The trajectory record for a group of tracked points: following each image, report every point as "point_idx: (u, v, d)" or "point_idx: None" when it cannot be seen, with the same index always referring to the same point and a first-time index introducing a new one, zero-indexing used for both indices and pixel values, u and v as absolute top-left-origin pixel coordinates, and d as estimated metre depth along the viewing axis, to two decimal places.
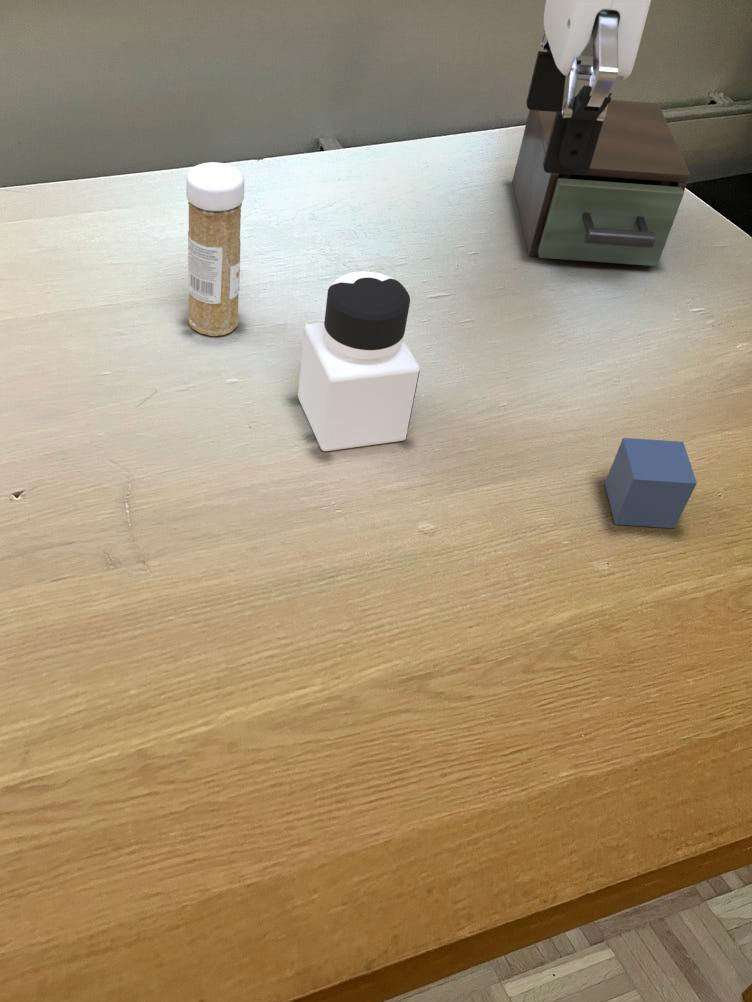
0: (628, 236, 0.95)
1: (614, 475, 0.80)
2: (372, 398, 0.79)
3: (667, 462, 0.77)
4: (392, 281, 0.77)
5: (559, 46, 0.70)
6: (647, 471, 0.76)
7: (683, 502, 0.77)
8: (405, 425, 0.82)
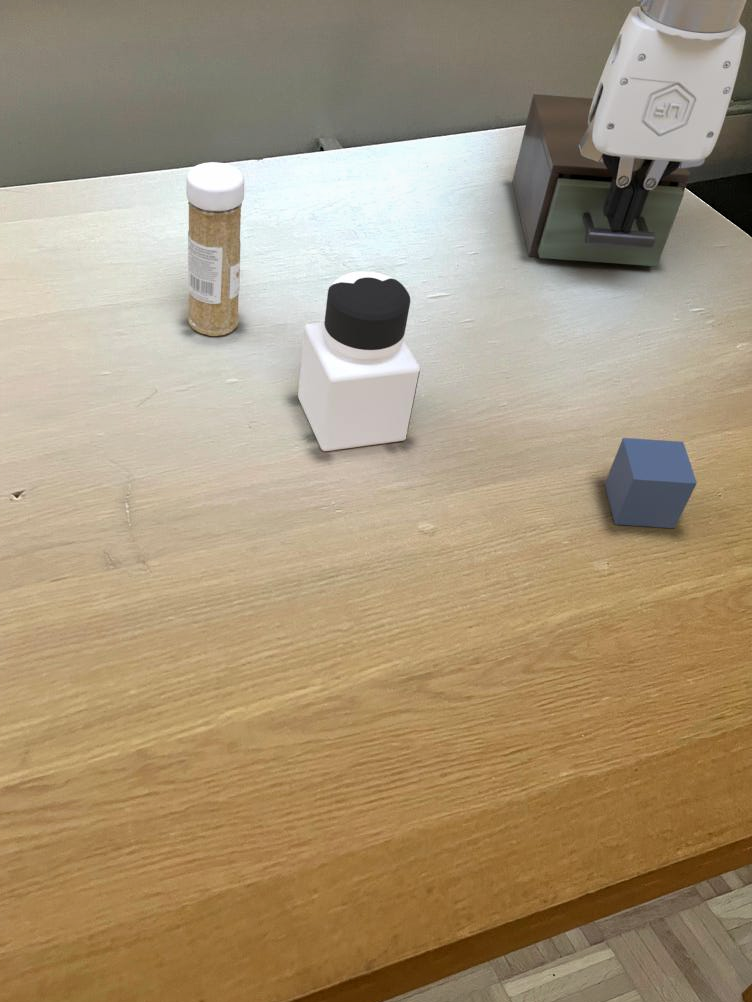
0: (628, 236, 0.95)
1: (614, 475, 0.80)
2: (372, 398, 0.79)
3: (667, 462, 0.77)
4: (393, 281, 0.77)
5: None
6: (647, 471, 0.76)
7: (683, 502, 0.77)
8: (405, 425, 0.82)
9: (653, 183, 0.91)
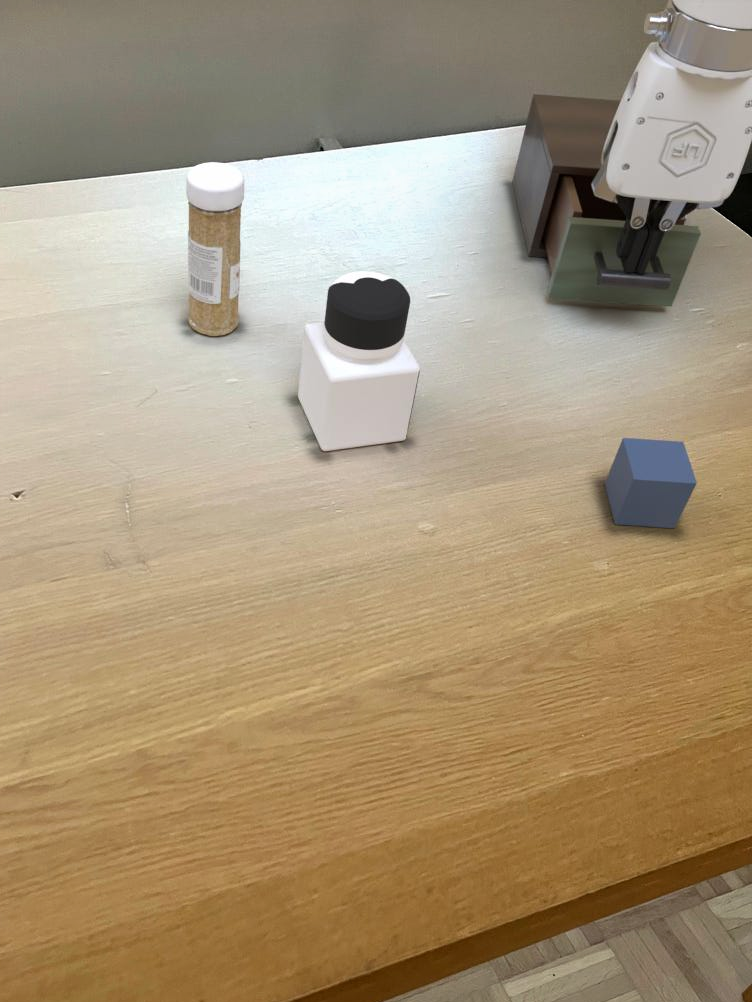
0: (642, 278, 0.90)
1: (614, 475, 0.80)
2: (372, 398, 0.79)
3: (667, 462, 0.77)
4: (392, 281, 0.77)
5: None
6: (647, 471, 0.76)
7: (683, 502, 0.77)
8: (405, 425, 0.82)
9: (669, 224, 0.87)
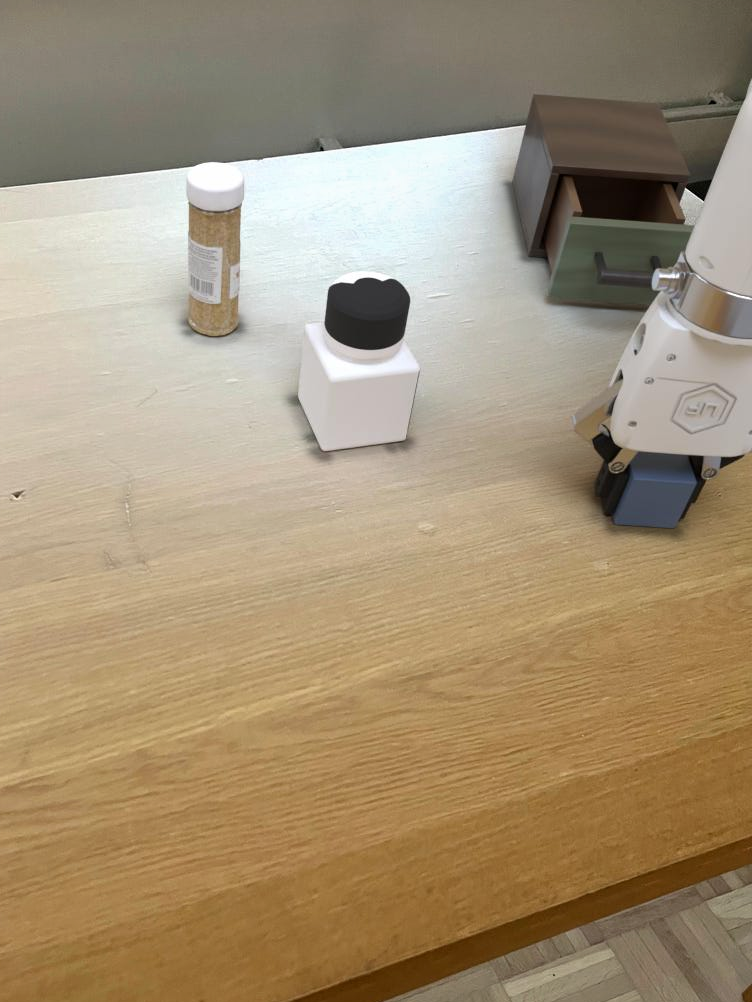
0: (642, 278, 0.90)
1: None
2: (372, 398, 0.79)
3: (667, 462, 0.77)
4: (393, 281, 0.77)
5: None
6: (647, 471, 0.76)
7: (683, 502, 0.77)
8: (405, 425, 0.82)
9: (713, 473, 0.76)
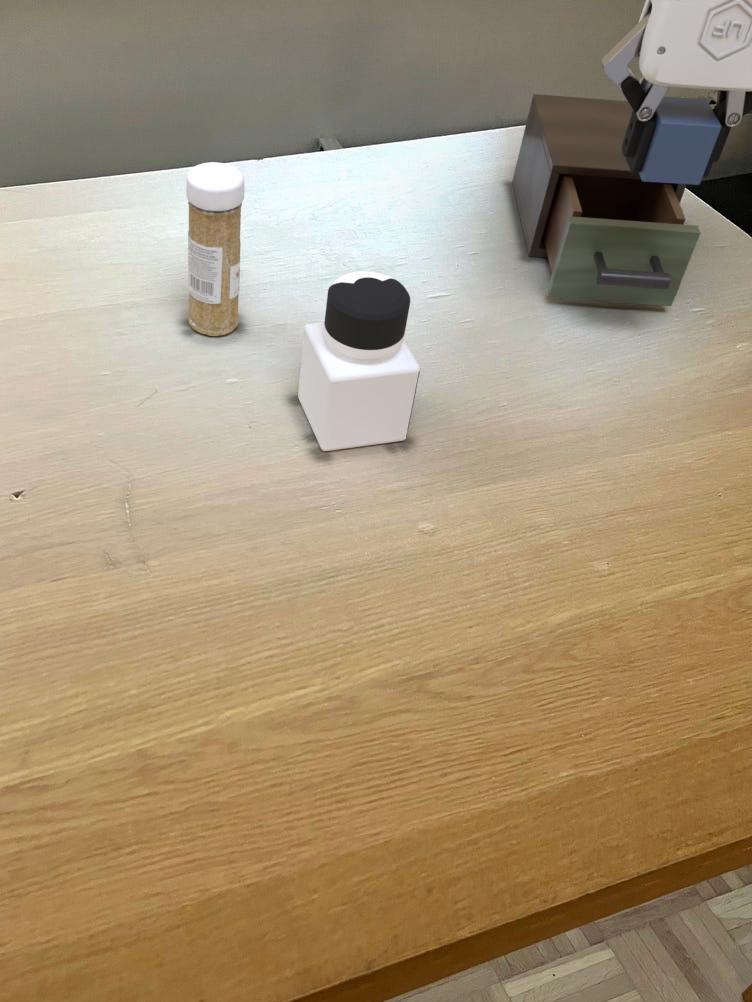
0: (642, 278, 0.90)
1: None
2: (372, 398, 0.79)
3: (692, 112, 0.80)
4: (393, 281, 0.77)
5: None
6: (673, 117, 0.80)
7: (708, 151, 0.81)
8: (405, 425, 0.82)
9: (736, 119, 0.80)
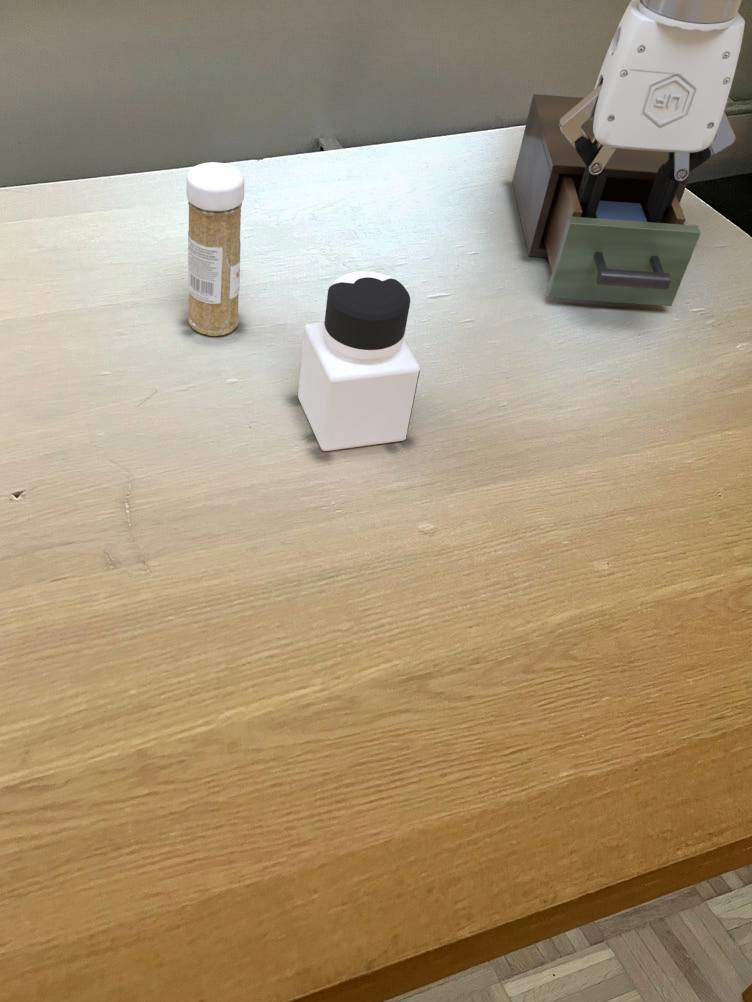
0: (642, 278, 0.90)
1: None
2: (372, 398, 0.79)
3: (627, 216, 0.96)
4: (393, 281, 0.77)
5: None
6: None
7: None
8: (405, 425, 0.82)
9: (684, 174, 0.91)
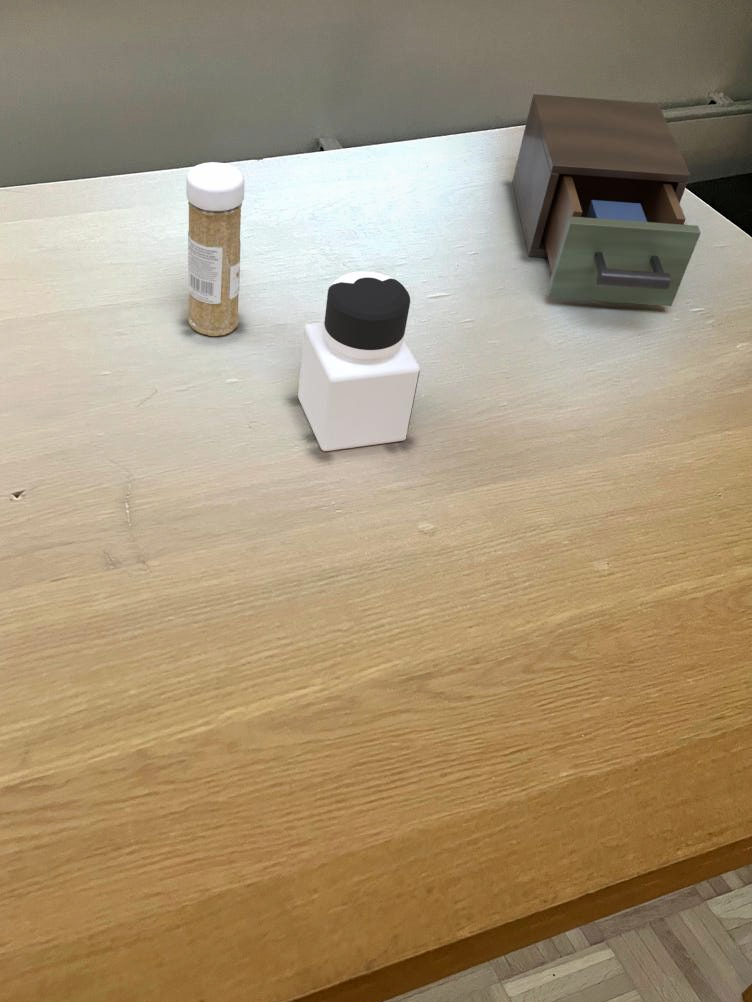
0: (642, 278, 0.90)
1: None
2: (372, 398, 0.79)
3: (627, 216, 0.96)
4: (392, 281, 0.77)
5: None
6: None
7: None
8: (405, 425, 0.82)
9: None
